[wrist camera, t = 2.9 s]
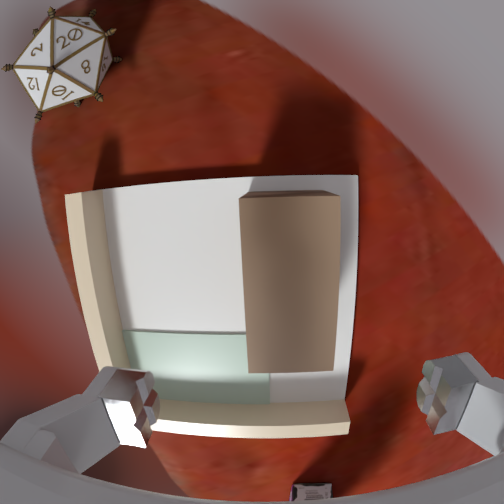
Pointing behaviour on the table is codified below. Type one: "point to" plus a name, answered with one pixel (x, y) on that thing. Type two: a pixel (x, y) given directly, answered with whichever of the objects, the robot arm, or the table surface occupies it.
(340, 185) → the arena
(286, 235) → the walnut block
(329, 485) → the candy bar box
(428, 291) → the table surface
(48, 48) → the game die
